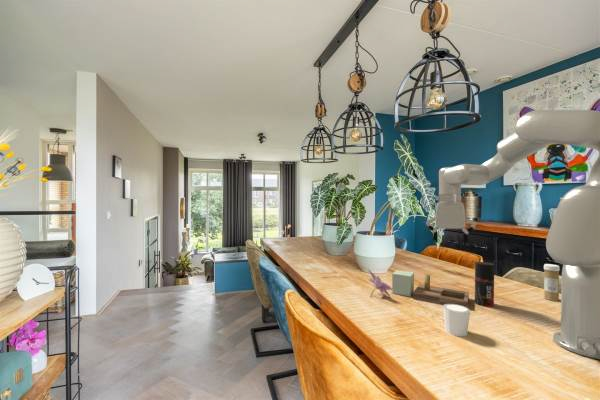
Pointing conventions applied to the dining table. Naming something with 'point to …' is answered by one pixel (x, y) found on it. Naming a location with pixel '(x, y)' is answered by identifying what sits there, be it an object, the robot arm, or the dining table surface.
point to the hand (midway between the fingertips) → (450, 243)
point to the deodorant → (484, 284)
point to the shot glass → (456, 319)
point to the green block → (403, 283)
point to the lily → (379, 284)
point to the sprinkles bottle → (551, 282)
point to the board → (440, 294)
